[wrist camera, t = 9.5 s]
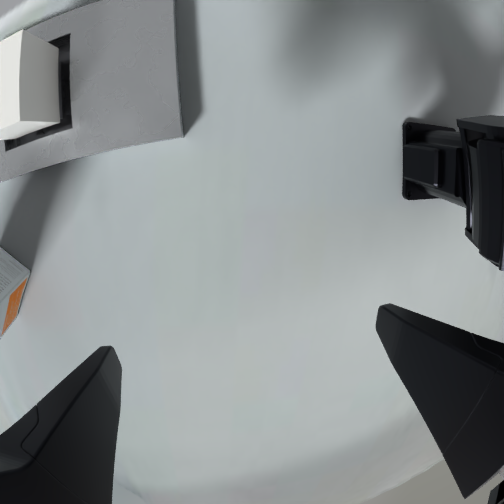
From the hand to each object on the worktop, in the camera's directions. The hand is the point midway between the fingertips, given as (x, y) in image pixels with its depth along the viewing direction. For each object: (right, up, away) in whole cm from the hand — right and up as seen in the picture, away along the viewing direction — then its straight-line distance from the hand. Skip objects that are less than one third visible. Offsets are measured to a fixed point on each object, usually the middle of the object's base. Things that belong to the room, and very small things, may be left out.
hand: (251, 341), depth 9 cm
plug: (-15, +14, +6) cm, 21 cm away
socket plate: (-13, +14, +6) cm, 20 cm away
